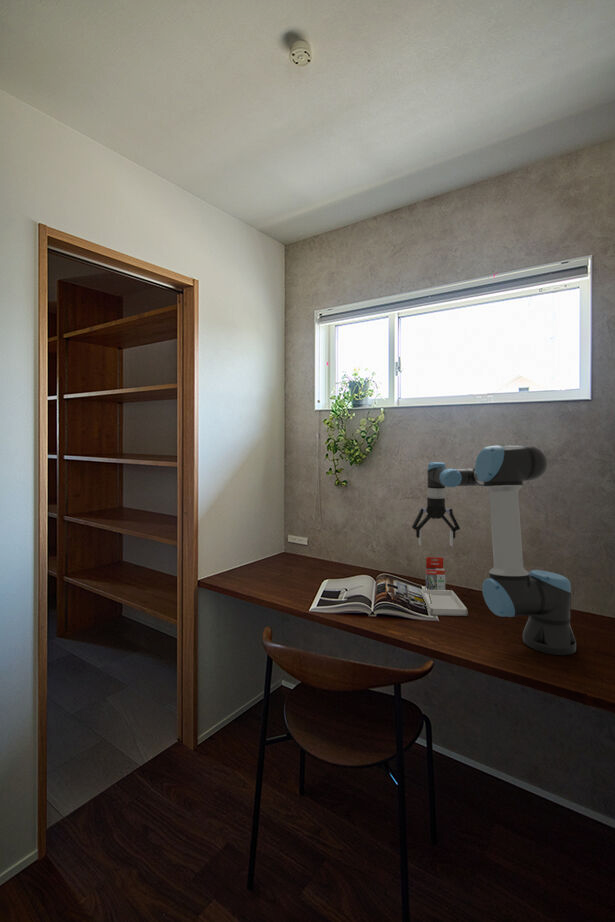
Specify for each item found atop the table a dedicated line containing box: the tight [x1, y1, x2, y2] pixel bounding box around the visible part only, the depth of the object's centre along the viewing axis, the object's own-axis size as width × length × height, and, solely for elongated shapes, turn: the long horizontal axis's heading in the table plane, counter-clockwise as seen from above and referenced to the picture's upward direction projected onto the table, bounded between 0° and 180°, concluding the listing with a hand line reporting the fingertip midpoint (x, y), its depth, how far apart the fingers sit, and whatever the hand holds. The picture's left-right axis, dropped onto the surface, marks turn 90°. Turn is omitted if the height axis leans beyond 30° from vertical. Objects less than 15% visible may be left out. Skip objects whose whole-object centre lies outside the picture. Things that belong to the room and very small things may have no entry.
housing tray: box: [419, 589, 469, 617], centre depth 175 cm, size 22×14×2 cm, turn 176°
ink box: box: [425, 556, 446, 590], centre depth 191 cm, size 4×8×15 cm, turn 84°
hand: (435, 545), depth 191 cm, fingers open, 13 cm apart
